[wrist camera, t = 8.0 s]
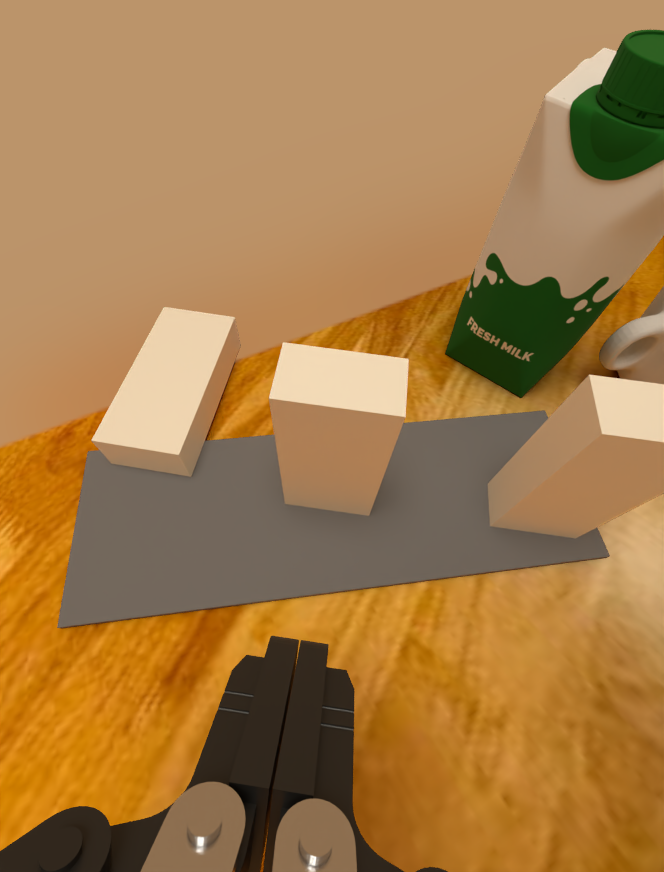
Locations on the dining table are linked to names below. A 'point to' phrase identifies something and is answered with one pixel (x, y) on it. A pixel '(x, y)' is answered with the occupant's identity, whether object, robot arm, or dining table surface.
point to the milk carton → (570, 217)
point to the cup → (638, 346)
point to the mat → (297, 526)
